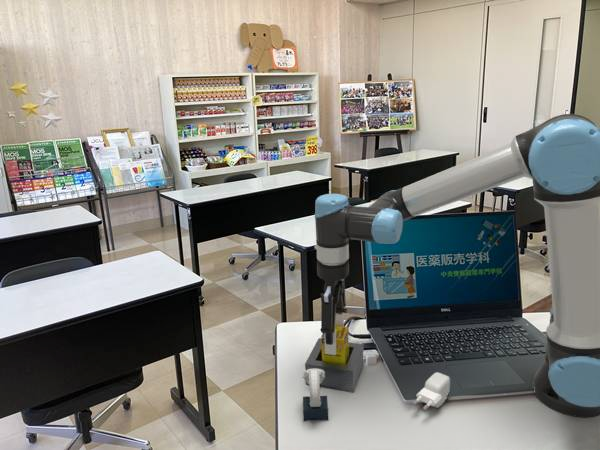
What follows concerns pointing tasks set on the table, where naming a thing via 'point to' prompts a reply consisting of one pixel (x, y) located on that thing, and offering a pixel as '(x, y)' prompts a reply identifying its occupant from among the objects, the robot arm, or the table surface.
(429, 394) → the power adapter
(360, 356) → the hollow block
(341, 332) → the supplement box
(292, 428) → the table surface
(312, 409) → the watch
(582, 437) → the table surface
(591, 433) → the table surface
